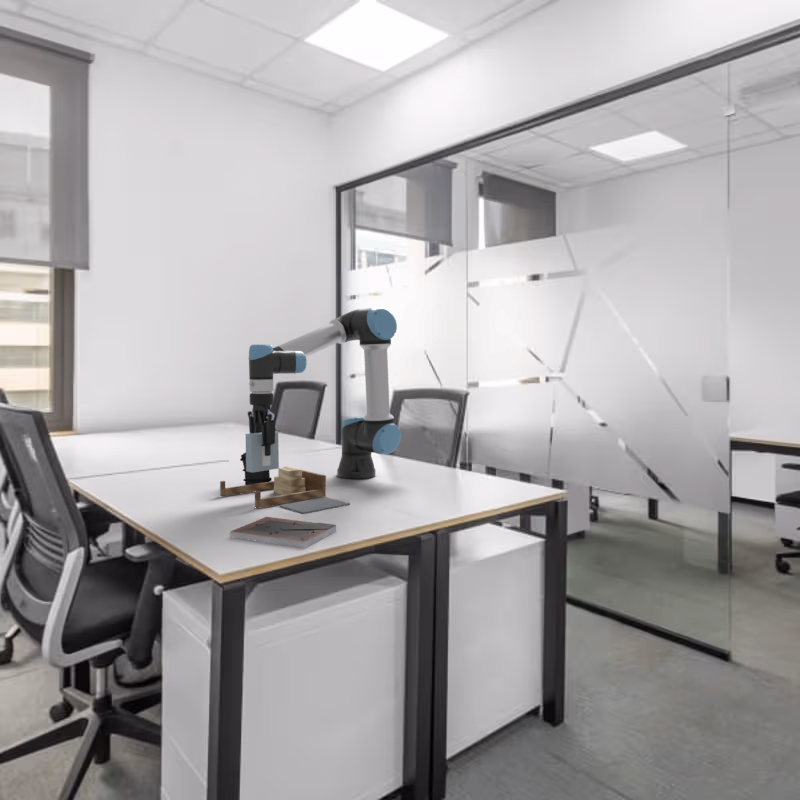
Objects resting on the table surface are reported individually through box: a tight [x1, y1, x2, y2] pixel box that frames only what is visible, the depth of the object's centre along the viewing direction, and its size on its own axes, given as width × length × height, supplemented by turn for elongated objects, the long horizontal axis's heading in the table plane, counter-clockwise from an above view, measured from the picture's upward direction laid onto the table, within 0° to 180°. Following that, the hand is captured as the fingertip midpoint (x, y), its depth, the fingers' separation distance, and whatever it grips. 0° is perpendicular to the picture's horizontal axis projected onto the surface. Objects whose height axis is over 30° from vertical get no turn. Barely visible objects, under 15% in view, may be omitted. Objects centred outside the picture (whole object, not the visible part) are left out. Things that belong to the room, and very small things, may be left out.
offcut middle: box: [273, 475, 305, 490], centre depth 209 cm, size 6×9×3 cm, turn 47°
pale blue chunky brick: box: [245, 431, 280, 473], centre depth 200 cm, size 10×4×12 cm, turn 135°
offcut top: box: [277, 466, 303, 480], centre depth 208 cm, size 5×7×3 cm
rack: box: [219, 469, 327, 509], centre depth 204 cm, size 26×22×7 cm
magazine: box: [239, 451, 273, 485], centre depth 219 cm, size 4×13×15 cm, turn 50°
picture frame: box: [229, 516, 337, 549], centre depth 160 cm, size 16×2×22 cm
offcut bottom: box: [273, 486, 306, 495], centre depth 209 cm, size 6×10×3 cm, turn 44°
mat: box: [279, 496, 351, 515], centre depth 192 cm, size 18×12×1 cm, turn 135°
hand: (262, 464), depth 200 cm, fingers closed on pale blue chunky brick, 3 cm apart
